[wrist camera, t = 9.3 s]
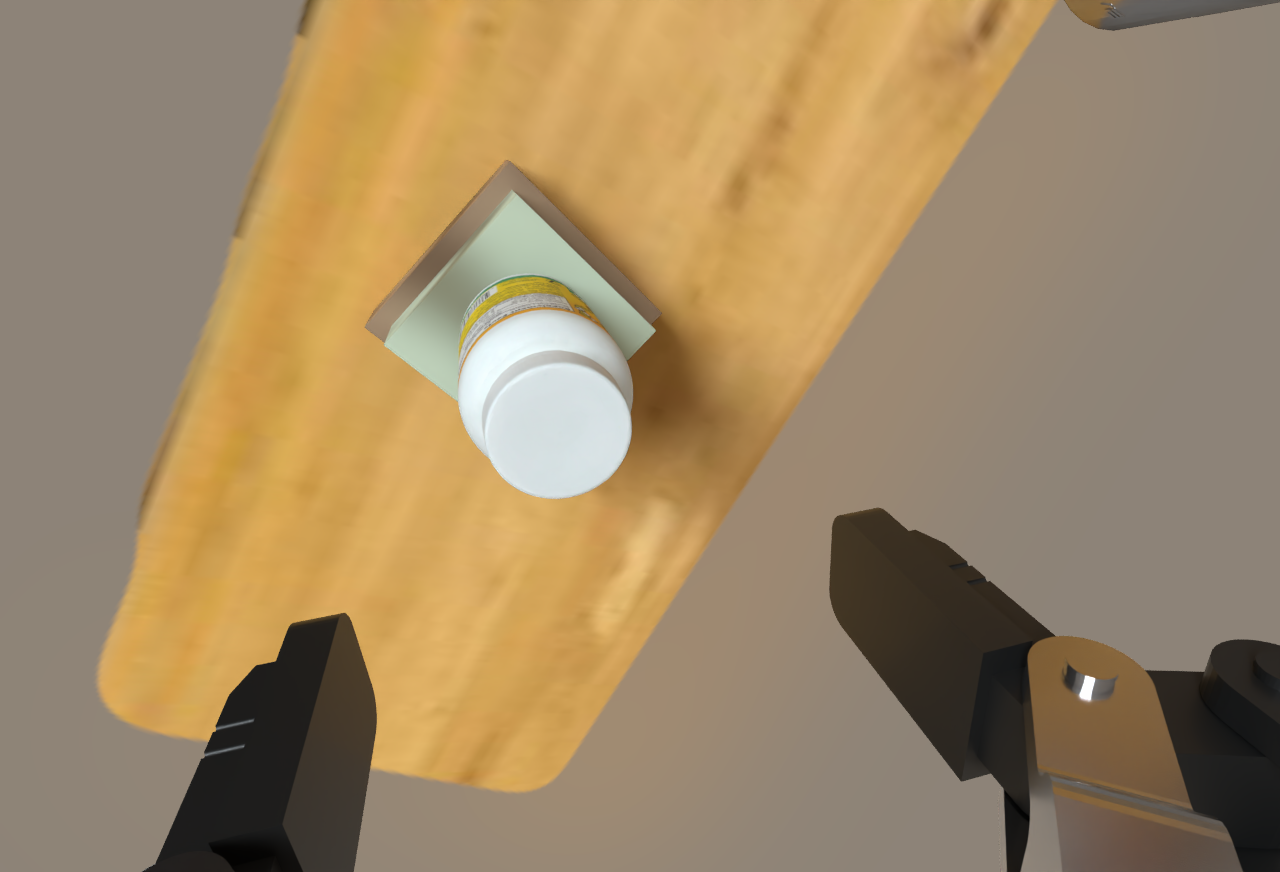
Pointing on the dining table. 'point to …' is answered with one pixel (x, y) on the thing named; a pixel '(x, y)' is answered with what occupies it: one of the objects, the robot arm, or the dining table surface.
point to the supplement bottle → (543, 387)
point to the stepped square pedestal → (488, 251)
